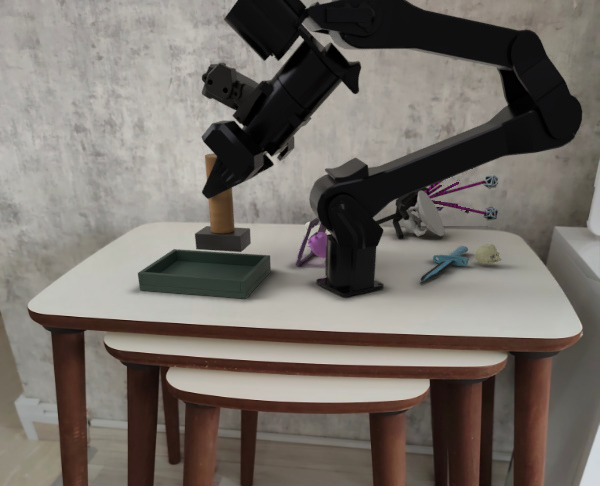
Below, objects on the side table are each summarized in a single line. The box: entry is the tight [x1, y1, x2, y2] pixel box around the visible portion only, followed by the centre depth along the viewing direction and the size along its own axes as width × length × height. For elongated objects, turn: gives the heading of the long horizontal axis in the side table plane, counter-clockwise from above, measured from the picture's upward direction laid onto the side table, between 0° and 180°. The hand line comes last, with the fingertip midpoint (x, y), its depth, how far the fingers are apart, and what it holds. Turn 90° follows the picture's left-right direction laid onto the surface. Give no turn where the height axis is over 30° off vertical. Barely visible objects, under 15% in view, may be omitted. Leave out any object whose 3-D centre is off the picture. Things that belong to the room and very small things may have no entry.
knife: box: [420, 245, 469, 283], centre depth 84 cm, size 17×1×5 cm
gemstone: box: [474, 243, 503, 265], centre depth 85 cm, size 3×4×3 cm
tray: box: [137, 248, 272, 300], centre depth 80 cm, size 14×11×2 cm
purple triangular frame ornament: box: [295, 217, 328, 267], centre depth 87 cm, size 7×5×9 cm
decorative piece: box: [375, 173, 500, 240], centre depth 104 cm, size 14×14×30 cm
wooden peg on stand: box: [194, 152, 252, 253], centre depth 75 cm, size 6×4×11 cm, turn 77°
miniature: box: [403, 191, 445, 237], centre depth 99 cm, size 8×8×5 cm
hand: (209, 193), depth 75 cm, fingers closed on wooden peg on stand, 3 cm apart
